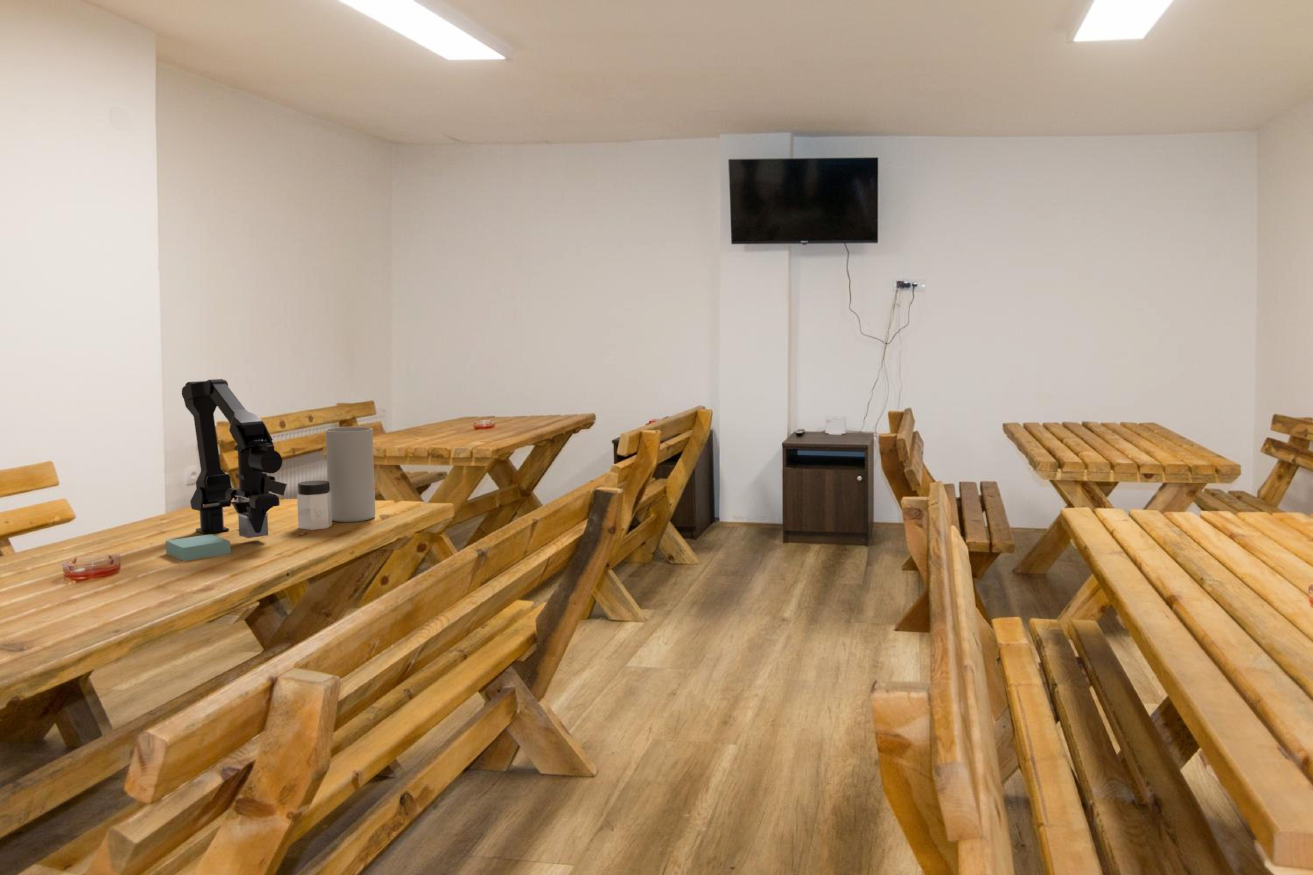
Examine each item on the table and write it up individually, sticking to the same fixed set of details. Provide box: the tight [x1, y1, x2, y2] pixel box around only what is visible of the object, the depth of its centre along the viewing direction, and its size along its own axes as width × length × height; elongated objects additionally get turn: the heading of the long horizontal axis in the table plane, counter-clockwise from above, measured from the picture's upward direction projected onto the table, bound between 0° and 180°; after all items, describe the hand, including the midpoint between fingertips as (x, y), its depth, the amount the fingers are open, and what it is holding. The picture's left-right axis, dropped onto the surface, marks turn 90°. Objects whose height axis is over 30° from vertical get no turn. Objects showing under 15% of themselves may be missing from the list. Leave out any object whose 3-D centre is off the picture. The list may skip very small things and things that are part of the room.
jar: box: [296, 480, 333, 531], centre depth 293 cm, size 9×8×12 cm
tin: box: [237, 512, 269, 539], centre depth 274 cm, size 5×5×6 cm
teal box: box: [165, 533, 231, 562], centre depth 262 cm, size 11×11×4 cm
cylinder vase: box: [324, 426, 376, 523], centre depth 304 cm, size 12×12×25 cm
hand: (253, 531), depth 274 cm, fingers closed on tin, 5 cm apart
